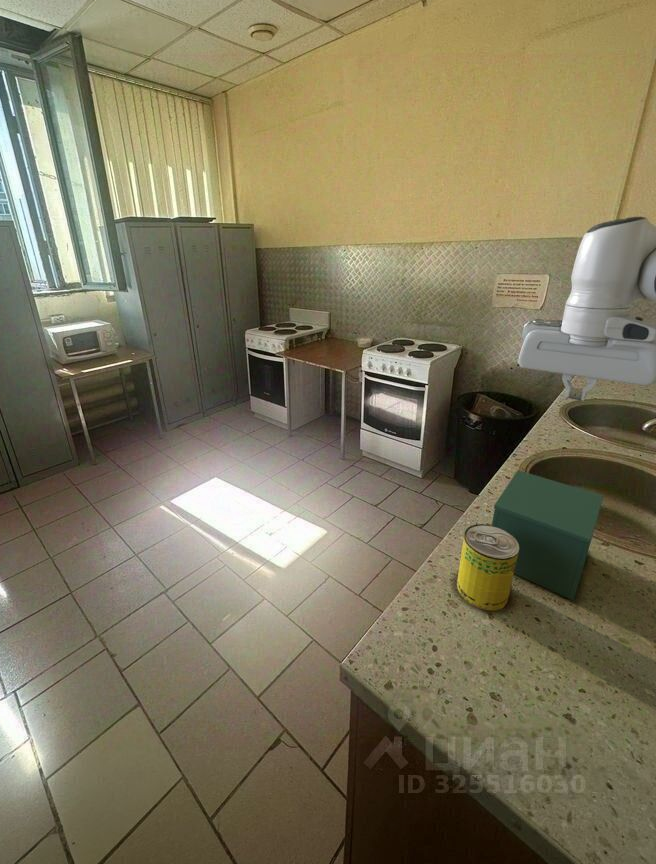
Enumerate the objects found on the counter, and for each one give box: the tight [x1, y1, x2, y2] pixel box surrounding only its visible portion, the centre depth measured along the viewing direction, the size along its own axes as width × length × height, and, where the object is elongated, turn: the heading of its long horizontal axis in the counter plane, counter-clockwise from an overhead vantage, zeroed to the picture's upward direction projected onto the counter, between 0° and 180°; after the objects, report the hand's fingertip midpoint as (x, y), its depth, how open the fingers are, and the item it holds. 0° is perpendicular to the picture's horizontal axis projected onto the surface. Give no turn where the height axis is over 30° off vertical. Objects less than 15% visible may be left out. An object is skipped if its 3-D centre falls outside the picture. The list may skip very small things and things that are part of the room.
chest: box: [491, 508, 591, 601], centre depth 81 cm, size 16×16×14 cm
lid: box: [493, 469, 604, 544], centre depth 78 cm, size 17×16×1 cm
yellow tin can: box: [456, 523, 519, 611], centre depth 73 cm, size 9×9×12 cm
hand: (575, 398), depth 72 cm, fingers closed
